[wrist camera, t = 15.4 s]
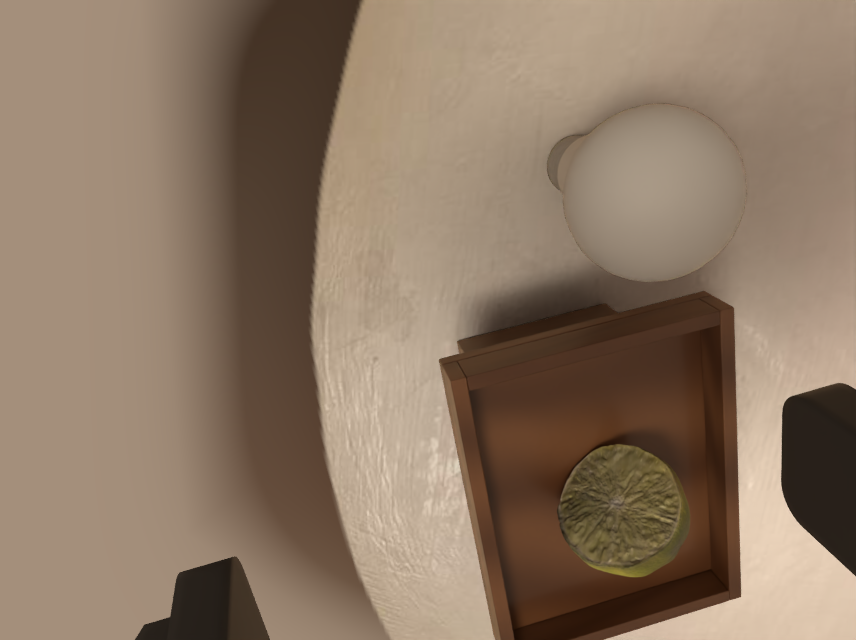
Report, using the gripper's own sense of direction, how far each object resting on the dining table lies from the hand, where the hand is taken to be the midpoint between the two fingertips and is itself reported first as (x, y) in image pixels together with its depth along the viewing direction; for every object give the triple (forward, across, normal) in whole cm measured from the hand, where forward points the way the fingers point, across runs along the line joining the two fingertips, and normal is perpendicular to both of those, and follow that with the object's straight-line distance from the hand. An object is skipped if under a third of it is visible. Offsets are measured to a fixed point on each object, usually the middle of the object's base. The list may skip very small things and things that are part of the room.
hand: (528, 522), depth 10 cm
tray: (+23, -7, +13) cm, 27 cm away
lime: (+16, -7, +13) cm, 22 cm away
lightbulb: (+23, -10, +1) cm, 25 cm away
